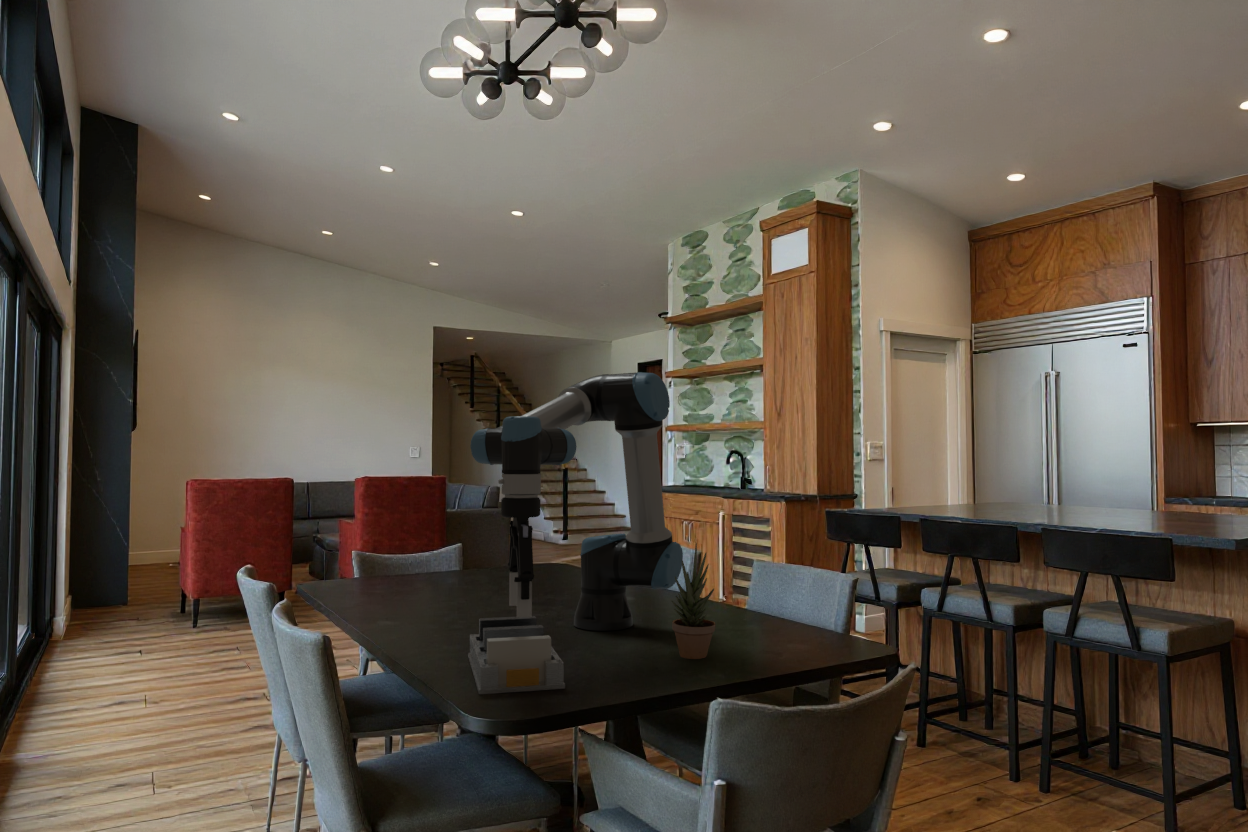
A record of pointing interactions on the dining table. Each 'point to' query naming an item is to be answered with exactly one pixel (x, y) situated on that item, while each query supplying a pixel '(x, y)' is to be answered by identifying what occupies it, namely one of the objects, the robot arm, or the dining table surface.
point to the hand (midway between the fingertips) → (520, 610)
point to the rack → (516, 677)
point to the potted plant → (693, 615)
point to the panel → (519, 654)
